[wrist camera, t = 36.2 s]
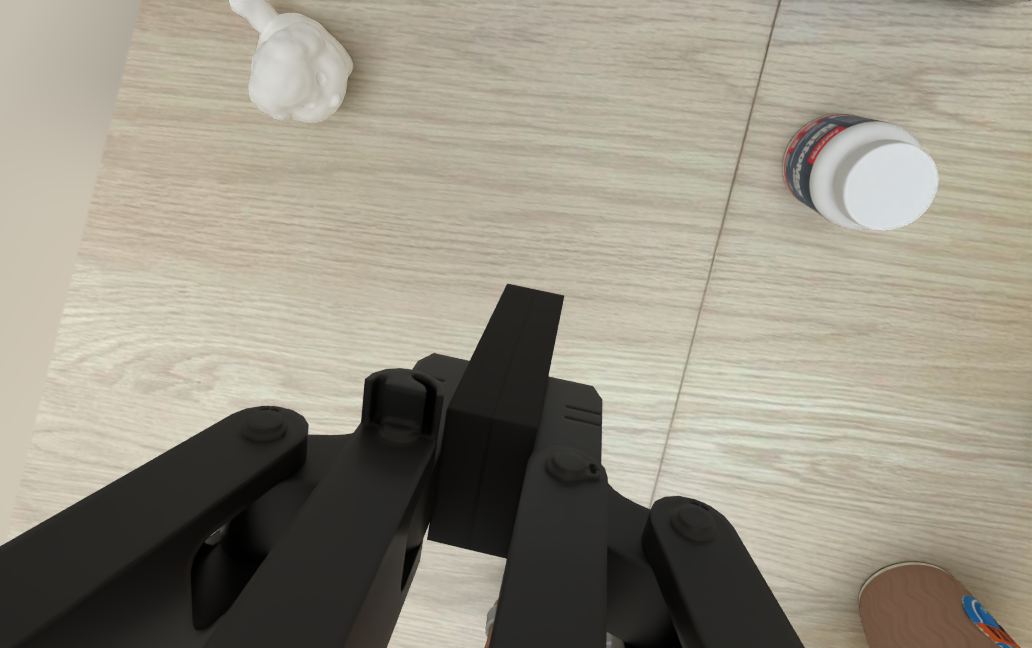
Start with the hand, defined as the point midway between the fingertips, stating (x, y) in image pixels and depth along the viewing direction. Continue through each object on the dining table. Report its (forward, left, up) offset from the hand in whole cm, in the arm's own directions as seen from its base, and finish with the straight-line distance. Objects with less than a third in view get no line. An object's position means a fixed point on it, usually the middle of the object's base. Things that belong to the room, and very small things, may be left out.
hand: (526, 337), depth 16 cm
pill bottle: (+7, +13, -25) cm, 29 cm away
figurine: (-15, -9, -25) cm, 30 cm away
